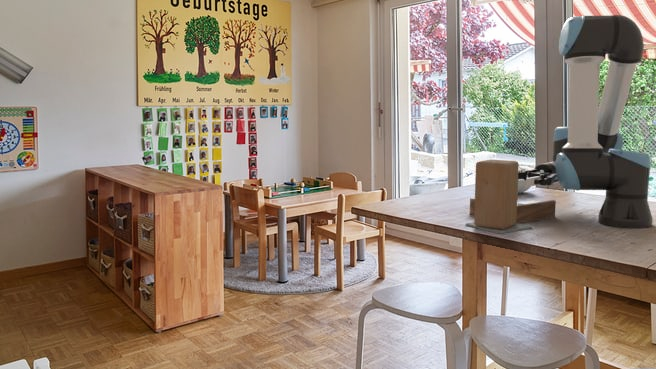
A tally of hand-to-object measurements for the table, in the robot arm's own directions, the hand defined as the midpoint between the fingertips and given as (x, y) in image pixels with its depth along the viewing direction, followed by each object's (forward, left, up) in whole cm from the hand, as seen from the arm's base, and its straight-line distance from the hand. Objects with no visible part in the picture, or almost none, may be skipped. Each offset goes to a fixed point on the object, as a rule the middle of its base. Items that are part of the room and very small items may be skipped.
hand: (511, 180), depth 176 cm
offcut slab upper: (+6, -16, -12) cm, 21 cm away
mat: (-3, +9, -14) cm, 16 cm away
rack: (+7, -9, -14) cm, 18 cm away
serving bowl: (+42, -46, -14) cm, 64 cm away
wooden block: (-4, +11, -13) cm, 17 cm away
